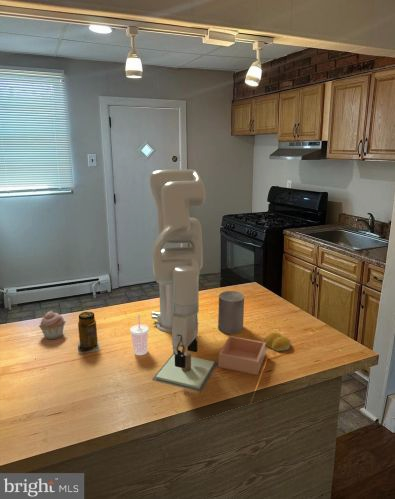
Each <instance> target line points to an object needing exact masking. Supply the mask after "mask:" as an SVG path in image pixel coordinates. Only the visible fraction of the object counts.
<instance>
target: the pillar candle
mask: <svg viewBox="0 0 395 499" xmlns="http://www.w3.org/2000/svg"><path fill="white" fill-rule="evenodd" d="M244 311H245V295H244V294H243V293H241V292H240V291H237V290H226V291H222V292H220V293H219V295H218V314H217V316H218V319H217V320H218V322H217V323H218V324H217V328H218V330H219V331H220V332H221V333H223V334H227V335H237V334H239V333H241V332H242V331H243V329H244V317H245V316H244V314H245V313H244Z"/></svg>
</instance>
